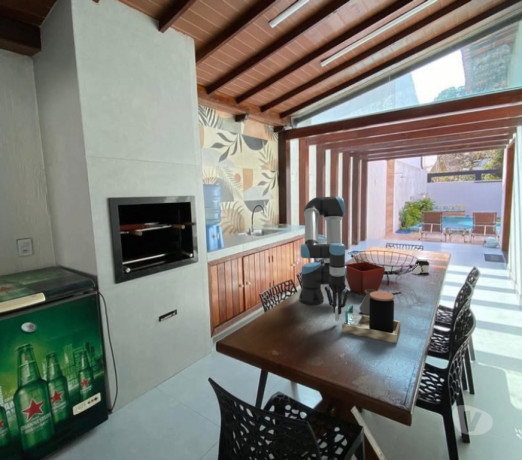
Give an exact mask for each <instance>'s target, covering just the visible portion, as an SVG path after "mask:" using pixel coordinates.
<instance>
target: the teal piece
mask: <svg viewBox="0 0 522 460" xmlns="http://www.w3.org/2000/svg"><path fill="white" fill-rule="evenodd" d="M344 312H345V315H344V316H345V321H344V322H343V324H347V325H352V326H357V327H360V325H361V323H362V316H361V315H362V314H360V315H355V314H356V313H354V304H353V303H349V305H348V307H347V308H346V310H345V311H344ZM353 313H354V314H353Z"/></svg>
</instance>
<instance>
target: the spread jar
mask: <svg viewBox="0 0 522 460" xmlns="http://www.w3.org/2000/svg"><path fill="white" fill-rule="evenodd" d="M418 263H419V265H418V266H417V267H416V268H415V269H414V270H413V271H412V270H411V273H412V274H414V275H426V274H428V273H429V272H430V262H429V261H428V258H427V257H417V260H416V261H415V262H414V265H415V264H418Z"/></svg>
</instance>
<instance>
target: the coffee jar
mask: <svg viewBox="0 0 522 460" xmlns="http://www.w3.org/2000/svg"><path fill="white" fill-rule="evenodd" d="M391 293H392V292H388V291H380V290H378V291H375V292H371V293H370V297H371V298H370V305H369V328H370V329H373V330H378V331H383V332H388V333H393V331H394V320H395V319H394V318H395V300H394V299H395V295H393V294H391Z"/></svg>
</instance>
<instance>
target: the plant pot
mask: <svg viewBox="0 0 522 460" xmlns="http://www.w3.org/2000/svg"><path fill="white" fill-rule="evenodd" d="M345 266H346V267H347V269H346V270H347V271H346V279H345V280H346V281H347V284H348V287H349V288H348V289H350V290H351V291H354V292H356V293H358V294H360V295H363V296H364V295H366V293H365V290H375V291H379V289H380V286H381V285H382V281H383V278H384V276H385V271H386V267H383V266H380V265H377V264H374V263H371V262H368V261H361V262H354V263H345Z"/></svg>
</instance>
